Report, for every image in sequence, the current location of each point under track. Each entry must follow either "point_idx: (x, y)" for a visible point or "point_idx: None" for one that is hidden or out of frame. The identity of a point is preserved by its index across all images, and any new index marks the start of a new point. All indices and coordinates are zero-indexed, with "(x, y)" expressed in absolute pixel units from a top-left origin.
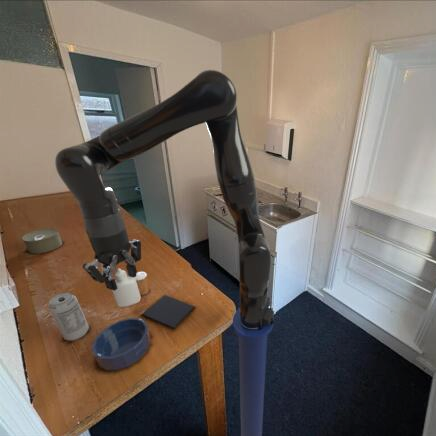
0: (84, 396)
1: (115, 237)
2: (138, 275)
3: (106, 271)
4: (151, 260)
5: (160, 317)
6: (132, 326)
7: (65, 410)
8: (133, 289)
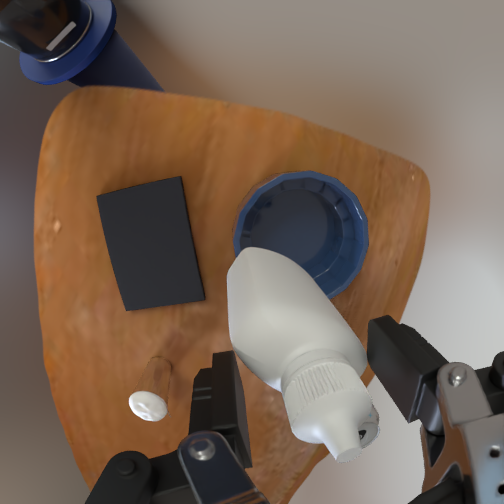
0: (391, 196)
1: None
2: (150, 409)
3: (439, 454)
4: (102, 430)
5: (180, 243)
6: None
7: (414, 200)
8: (274, 278)
